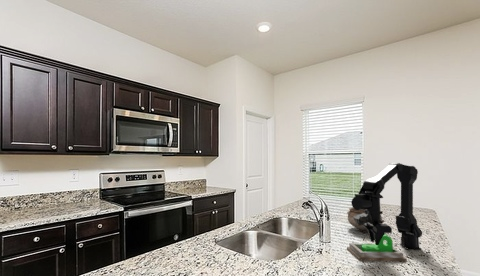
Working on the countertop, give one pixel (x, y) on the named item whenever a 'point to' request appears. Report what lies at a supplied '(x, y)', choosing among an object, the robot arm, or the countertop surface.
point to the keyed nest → (374, 253)
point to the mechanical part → (380, 246)
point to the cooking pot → (352, 221)
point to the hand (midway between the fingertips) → (374, 243)
